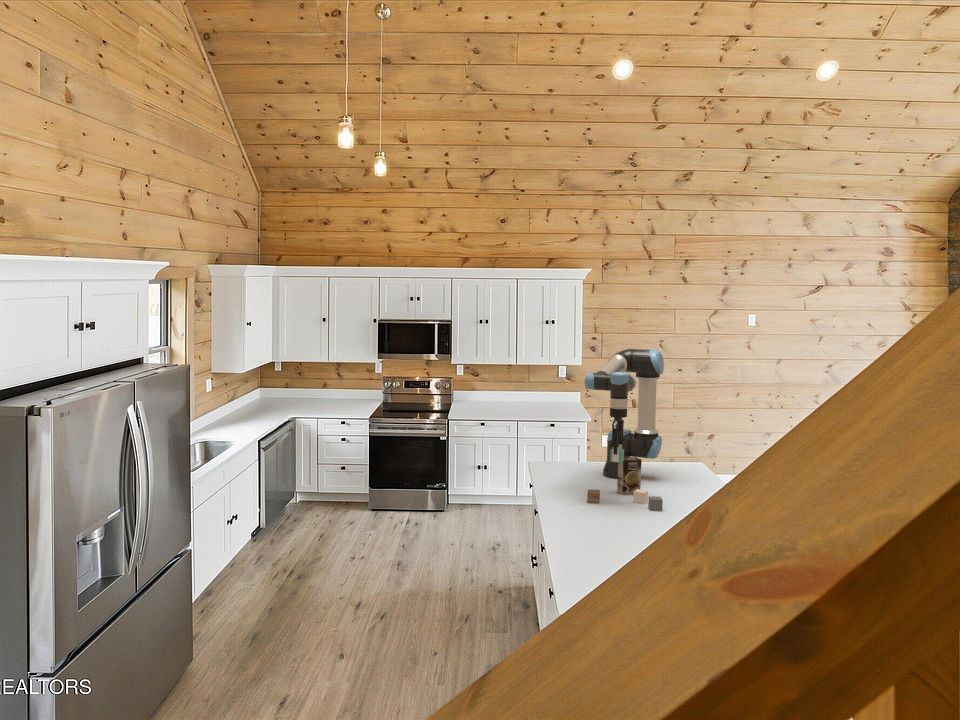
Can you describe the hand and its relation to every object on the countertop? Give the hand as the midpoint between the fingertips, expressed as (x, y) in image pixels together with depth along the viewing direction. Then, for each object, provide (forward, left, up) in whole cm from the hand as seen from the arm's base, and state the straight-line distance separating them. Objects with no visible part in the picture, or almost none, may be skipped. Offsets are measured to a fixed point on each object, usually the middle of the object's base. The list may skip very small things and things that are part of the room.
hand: (616, 460), depth 339 cm
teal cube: (0, 0, 0) cm, 0 cm away
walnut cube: (+4, -9, -19) cm, 21 cm away
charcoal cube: (+4, +18, -19) cm, 26 cm away
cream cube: (-5, +10, -19) cm, 22 cm away
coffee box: (-19, +2, -19) cm, 27 cm away
